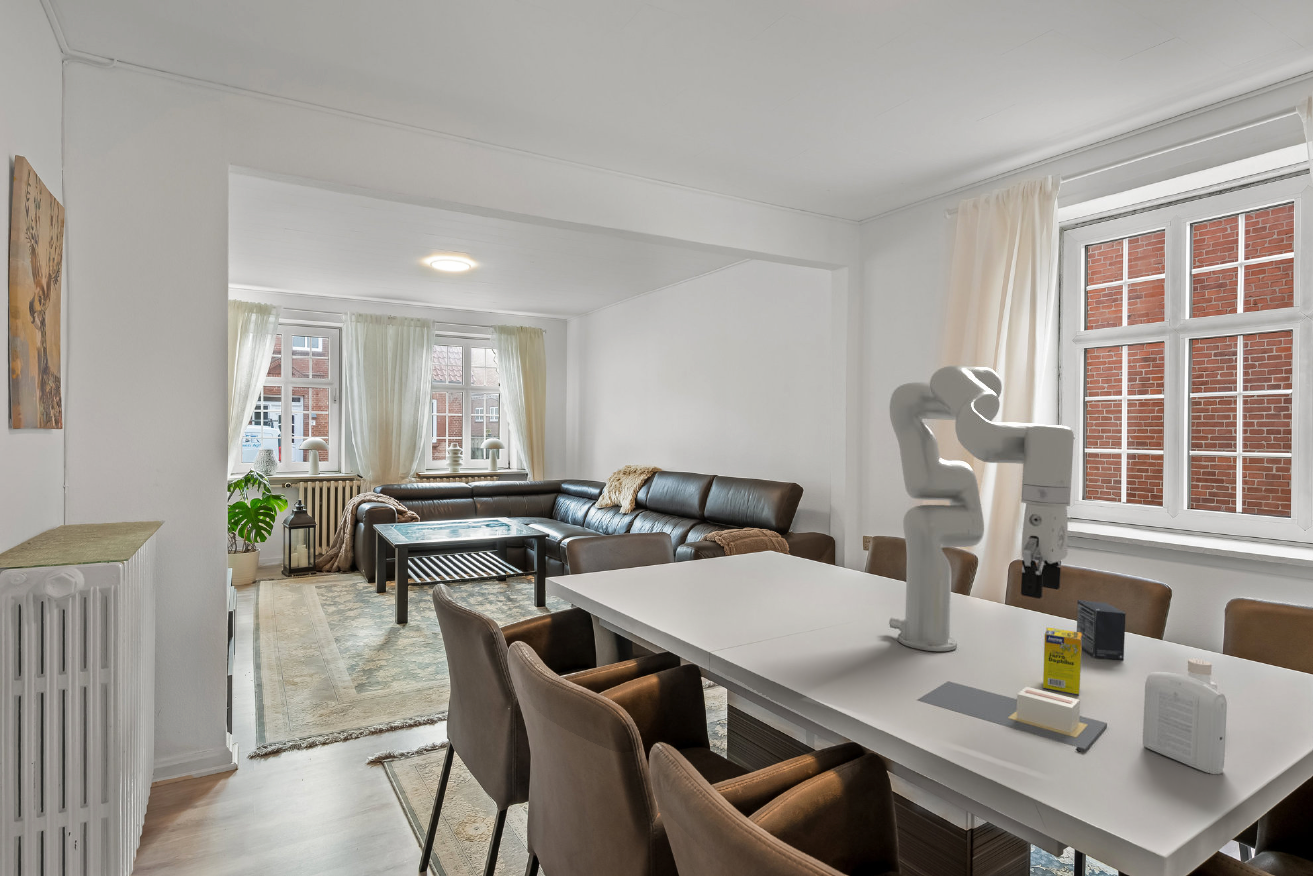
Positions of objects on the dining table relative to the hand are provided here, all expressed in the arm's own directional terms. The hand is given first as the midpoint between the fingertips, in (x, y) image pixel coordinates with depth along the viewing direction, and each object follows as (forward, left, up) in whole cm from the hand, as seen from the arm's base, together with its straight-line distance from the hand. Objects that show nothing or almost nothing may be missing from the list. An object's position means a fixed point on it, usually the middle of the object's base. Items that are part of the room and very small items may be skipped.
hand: (1040, 592), depth 124 cm
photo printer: (+21, -6, -20) cm, 30 cm away
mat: (-2, -8, -20) cm, 22 cm away
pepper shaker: (+21, +16, -20) cm, 33 cm away
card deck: (+4, -8, -19) cm, 21 cm away
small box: (0, +46, -20) cm, 50 cm away
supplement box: (+1, +12, -20) cm, 24 cm away
